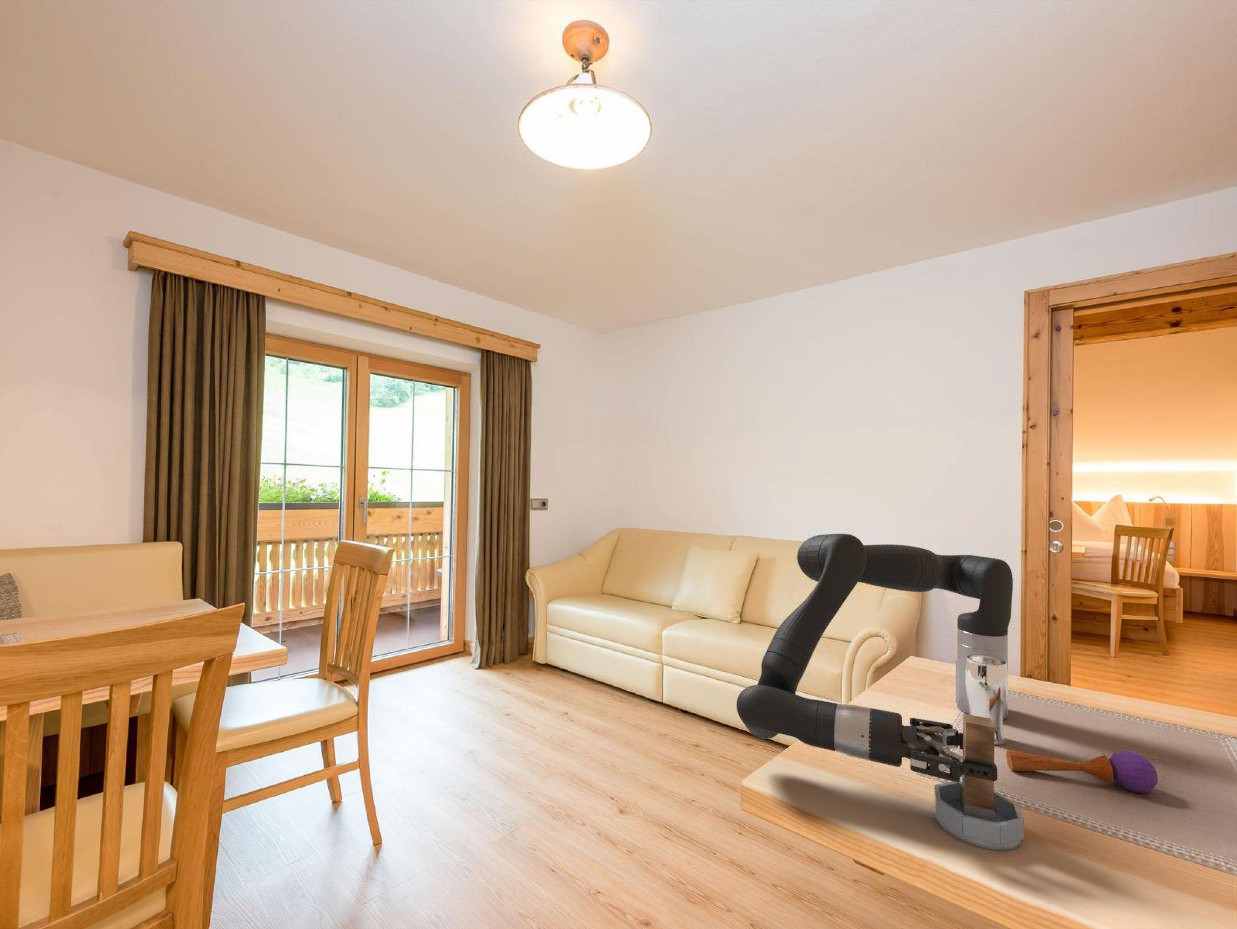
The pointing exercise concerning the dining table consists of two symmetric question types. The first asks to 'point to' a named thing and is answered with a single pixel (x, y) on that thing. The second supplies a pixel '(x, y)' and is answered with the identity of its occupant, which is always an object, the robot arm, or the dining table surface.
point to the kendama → (1095, 768)
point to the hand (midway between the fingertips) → (992, 758)
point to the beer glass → (987, 690)
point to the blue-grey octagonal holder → (979, 819)
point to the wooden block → (982, 748)
